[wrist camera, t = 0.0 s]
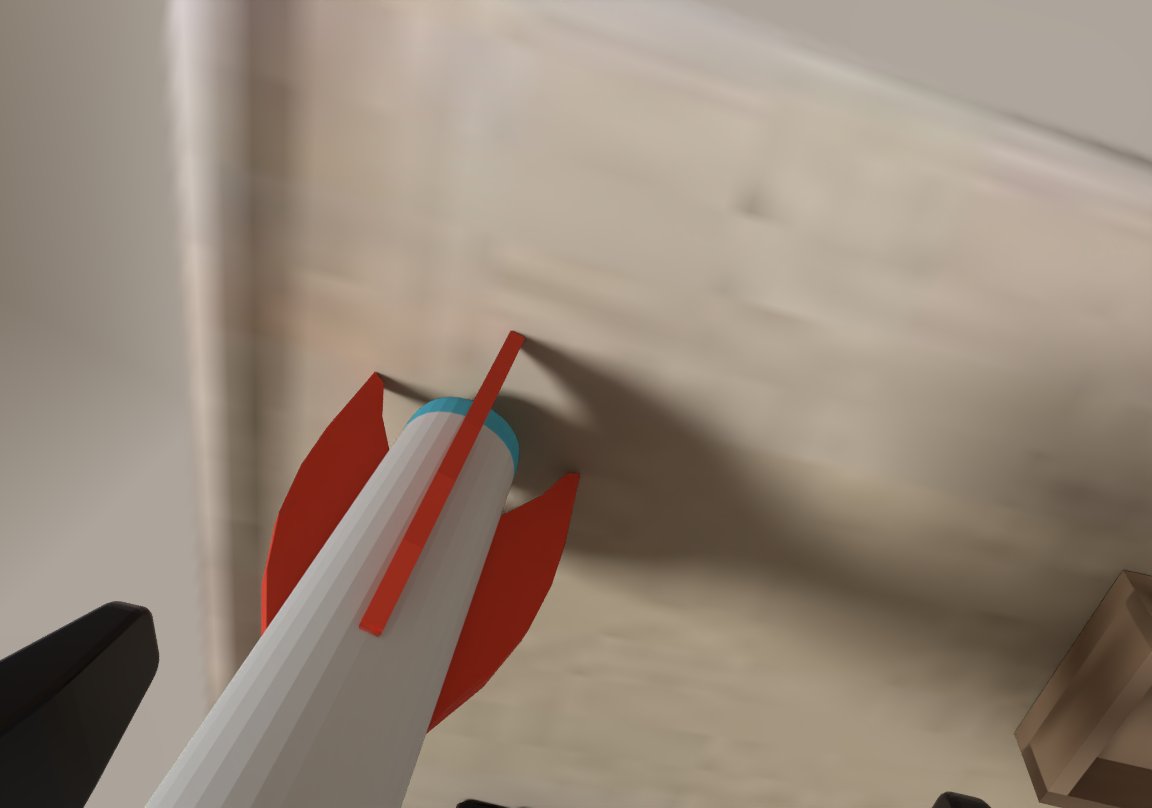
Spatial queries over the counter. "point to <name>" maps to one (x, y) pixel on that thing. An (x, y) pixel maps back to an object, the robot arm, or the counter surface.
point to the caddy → (1098, 710)
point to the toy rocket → (378, 607)
